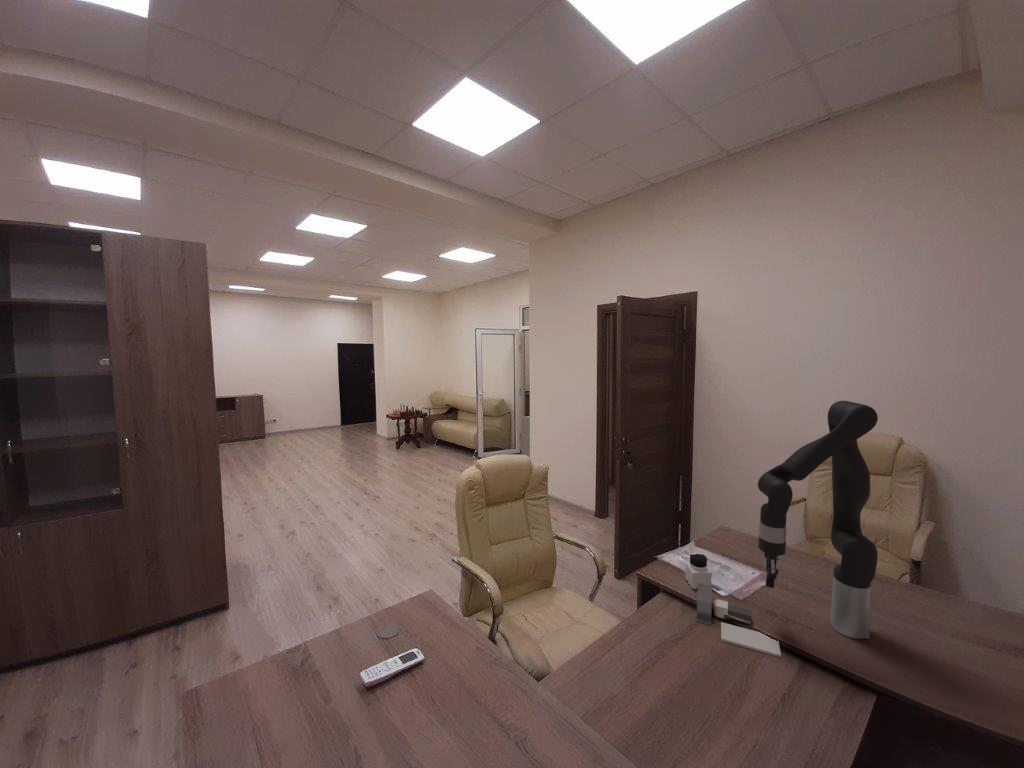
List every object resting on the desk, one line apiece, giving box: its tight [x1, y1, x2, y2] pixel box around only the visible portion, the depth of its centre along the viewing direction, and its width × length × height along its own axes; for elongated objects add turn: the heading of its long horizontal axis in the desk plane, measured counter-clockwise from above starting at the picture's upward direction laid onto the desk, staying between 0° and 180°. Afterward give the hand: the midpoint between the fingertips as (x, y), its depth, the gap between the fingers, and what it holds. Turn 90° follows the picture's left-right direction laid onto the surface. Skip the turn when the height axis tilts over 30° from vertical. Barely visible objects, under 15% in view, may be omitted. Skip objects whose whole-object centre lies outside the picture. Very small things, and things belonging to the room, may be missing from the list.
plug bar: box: [714, 598, 753, 623], centre depth 138 cm, size 11×4×4 cm, turn 63°
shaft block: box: [695, 583, 713, 626], centre depth 141 cm, size 4×15×7 cm, turn 153°
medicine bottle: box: [684, 552, 712, 590], centre depth 156 cm, size 7×7×12 cm
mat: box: [720, 621, 782, 658], centre depth 127 cm, size 16×8×1 cm, turn 63°
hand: (769, 586), depth 131 cm, fingers closed
